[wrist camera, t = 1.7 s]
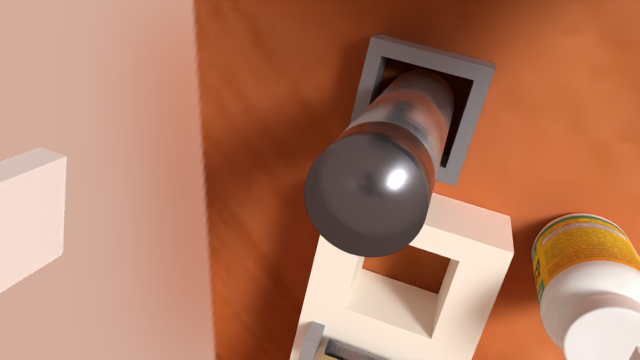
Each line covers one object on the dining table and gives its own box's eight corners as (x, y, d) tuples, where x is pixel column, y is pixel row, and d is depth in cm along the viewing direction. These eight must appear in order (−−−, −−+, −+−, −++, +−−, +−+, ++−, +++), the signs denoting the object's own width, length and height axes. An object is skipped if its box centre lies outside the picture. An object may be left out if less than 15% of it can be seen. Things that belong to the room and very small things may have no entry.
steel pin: (395, 61, 31) (318, 123, 17) (463, 79, 31) (444, 160, 16) (377, 127, 33) (293, 235, 18) (442, 145, 32) (408, 273, 18)
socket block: (350, 167, 34) (320, 206, 28) (510, 216, 32) (516, 269, 26) (294, 385, 41) (261, 455, 35) (424, 436, 39) (413, 519, 33)
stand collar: (379, 33, 31) (370, 36, 29) (494, 63, 30) (495, 69, 28) (352, 141, 34) (342, 151, 31) (457, 172, 33) (455, 185, 30)
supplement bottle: (645, 275, 31) (707, 385, 23) (552, 304, 34) (576, 415, 25) (607, 195, 31) (656, 277, 22) (514, 230, 33) (525, 317, 24)
